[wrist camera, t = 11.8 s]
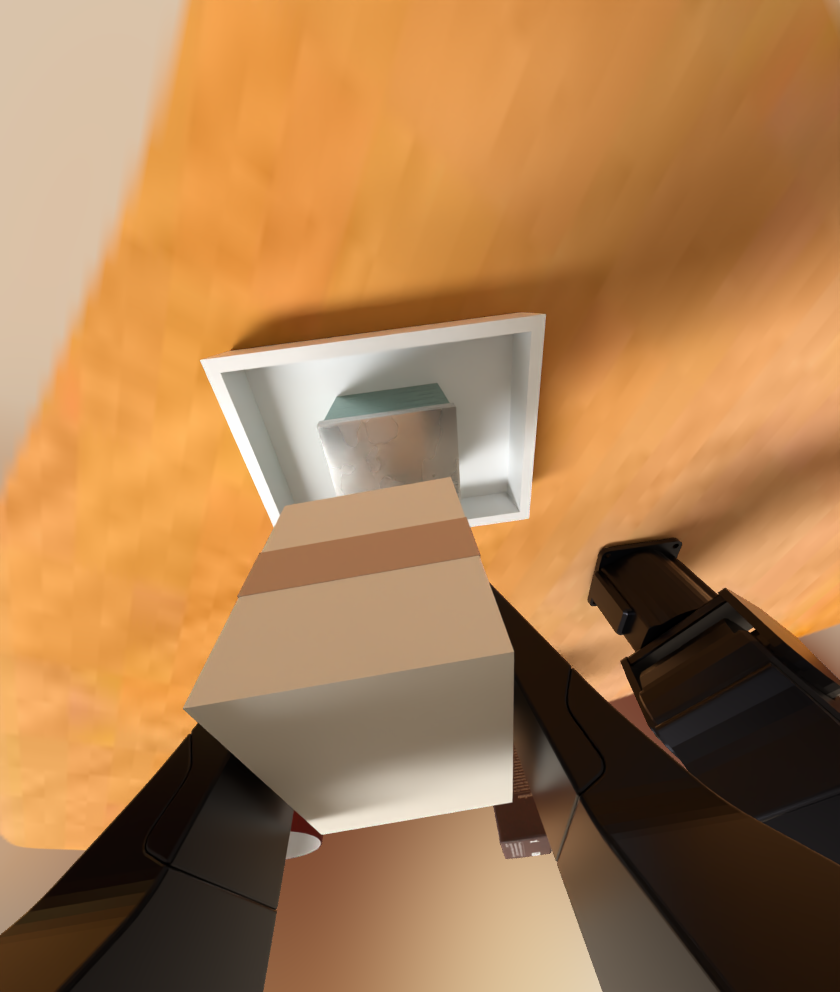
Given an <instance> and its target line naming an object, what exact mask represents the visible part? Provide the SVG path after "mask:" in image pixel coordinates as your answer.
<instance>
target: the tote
mask: <svg viewBox="0 0 840 992" xmlns="http://www.w3.org/2000/svg"><path fill="white" fill-rule="evenodd" d="M545 322H546V314H540V313H527V312H518V313H511V314H503V315H496V316H488V317H481V318H473V319H465V320H458V321H450V322H443V323H435V324H428V325H420V326H413V327H405V328H398V329H390V330H383V331H375V332H368V333H360V334H352V335H345V336H337V337H330V338H322V339H315V340H307V341H300V342H292V343H285V344H277V345H270V346H262V347H255V348H247V349H240V350H232V351H227V352H224V353H221V354H218V355H214V356H211V357H208V358H205V359H202V360H200V361H201V364H202V366H203V368H204V370H205V373H206V375H207V377H208V379H209V382H210V384H211V386H212V388H213V391H214V393H215V395H216V397H217V400H218V402H219V404H220V406H221V409H222V411H223V413H224V416H225V418H226V420H227V422H228V425H229V427H230V429H231V431H232V434H233V436H234V438H235V440H236V443H237V445H238V447H239V449H240V452H241V454H242V456H243V458H244V461H245V463H246V465H247V467H248V470H249V472H250V474H251V476H252V479H253V481H254V483H255V486H256V488H257V490H258V492H259V495H260V497H261V499H262V501H263V504H264V506H265V508H266V510H267V513H268V515H269V517H270V519H271V522H272V524H273V526H275V524H276V522H277V520H278V518H279V516H280V514H281V513H282V511H283V509H284V507H285V506H287V505H292V504H298V503H304V502H309V501H315V500H321V499H327V498H332V497H337V494H336V491H335V487H334V484H333V480H332V477H331V474H330V470H329V467H328V463H327V460H326V457H325V453H324V450H323V446H322V443H321V439H320V436H319V433H318V429H317V424H318V422H319V421H323V420H324V419H325V417H326V415H327V413H328V411H329V409H330V408H331V406H332V404H333V402H334V400H335V398H336V397H337V396H345V395H352V394H359V393H367V392H374V391H381V390H389V389H396V388H403V387H411V386H418V385H425V384H432V383H438V385H439V386H440V388H441V389H442V391H443V393H444V394H445V396H446V398H447V399H448V401H449V402H450V403H454V404H455V406H456V415H457V434H458V453H459V472H460V491H461V506H462V509H463V512H464V515H465V517H467V520H468V522H469V525H470V527H474V526H481V525H488V524H495V523H502V522H509V521H516V520H523V519H529V511H530V500H531V488H532V476H533V464H534V452H535V440H536V428H537V416H538V405H539V393H540V381H541V369H542V357H543V345H544V333H545Z"/></svg>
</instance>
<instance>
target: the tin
mask: <svg viewBox="0 0 840 992" xmlns="http://www.w3.org/2000/svg"><path fill="white" fill-rule="evenodd" d="M317 429H318V433H319V436H320V439H321V443H322V446H323V450H324V453H325V457H326V460H327V463H328V467H329V470H330V474H331V477H332V480H333V484H334V487H335V491H336V494H337V497H338V496H344V495H350V494H355V493H361V492H367V491H372V490H378V489H384V488H390V487H395V486H401V485H407V484H413V483H418V482H424V481H430V480H436V479H441V478H447V477H451V479H452V482H453V484H454V487H455V490H456V493H457V495H458V498H459V501H460V504H461V491H460V472H459V453H458V434H457V415H456V406H455V404H454V403H450V402H449V401H448V399H447V398H446V396H445V394H444V393H443V391H442V389H441V388H440V386H439V385H438V383H432V384H425V385H418V386H411V387H403V388H396V389H389V390H381V391H374V392H367V393H359V394H352V395H345V396H337V397H336V398H335V400H334V402H333V404H332V406H331V408H330V409H329V411H328V413H327V415H326V417H325V419H324V420H323V421H319V422H318V424H317Z"/></svg>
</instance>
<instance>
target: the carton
mask: <svg viewBox="0 0 840 992" xmlns="http://www.w3.org/2000/svg"><path fill="white" fill-rule="evenodd" d="M237 597H238V600H237V602H236V604H235V606H234V608H233V610H232V612H231V614H230V616H229V618H228V620H227V622H226V624H225V626H224V628H223V630H222V632H221V634H220V636H219V638H218V640H217V642H216V644H215V646H214V648H213V650H212V652H211V654H210V656H209V658H208V660H207V662H206V663H205V665H204V667H203V669H202V671H201V673H200V675H199V677H198V679H197V681H196V683H195V685H194V687H193V689H192V691H191V693H190V695H189V697H188V699H187V701H186V703H185V705H184V707H183V709H184V710H185V711H186V712H187V713H188V714H189V715H190V716H191V717H193V718H194V719H195V720H196V721H197V722H198V723H199V724H200V725H201V726H202V727H204V728H205V729H206V730H207V731H208V732H209V733H210V734H211V735H212V736H213V737H215V738H216V739H217V740H218V741H219V742H220V743H221V744H222V745H223V746H224V747H226V748H227V749H228V750H229V751H230V752H231V753H232V754H233V755H234V756H235V757H237V758H238V759H239V760H240V761H241V762H242V763H243V764H244V765H245V766H246V767H248V768H249V769H250V770H251V771H252V772H253V773H254V774H255V775H256V776H257V777H259V778H260V779H261V780H262V781H263V782H264V783H265V784H266V785H267V786H269V787H270V788H271V789H272V790H273V791H274V792H275V793H276V794H277V795H278V796H280V797H281V798H282V799H283V800H284V801H285V802H286V803H287V804H288V805H289V806H291V807H292V808H293V809H294V810H295V811H296V812H297V813H298V814H299V815H300V816H302V817H303V818H304V819H305V820H306V821H307V822H308V823H309V824H310V825H311V826H313V827H314V828H315V829H316V830H317V831H318V832H319V833H320V834H321V835H323V834H328V833H335V832H340V831H346V830H352V829H357V828H364V827H370V826H375V825H382V824H387V823H393V822H399V821H405V820H411V819H417V818H423V817H429V816H434V815H440V814H446V813H452V812H458V811H463V810H470V809H476V808H482V807H488V806H493V805H499V804H505V803H511V802H512V794H513V701H514V650H513V647H512V645H511V642H510V639H509V636H508V634H507V631H506V628H505V625H504V623H503V620H502V617H501V614H500V611H499V609H498V606H497V603H496V600H495V598H494V595H493V592H492V589H491V587H490V584H489V581H488V578H487V576H486V573H485V570H484V567H483V564H482V562H481V558H480V552H479V550H478V547H477V544H476V542H475V539H474V536H473V533H472V531H471V528H470V525H469V522H468V520H467V517H465V515H464V512H463V509H462V506H461V504H460V501H459V498H458V495H457V493H456V490H455V487H454V484H453V482H452V479H451V477H447V478H441V479H436V480H430V481H424V482H418V483H413V484H407V485H401V486H395V487H390V488H384V489H378V490H372V491H367V492H361V493H355V494H350V495H344V496H338V497H332V498H327V499H321V500H315V501H309V502H304V503H298V504H292V505H287V506H285V507H284V509H283V511H282V513H281V514H280V516H279V518H278V520H277V522H276V524H275V526H274V528H273V530H272V532H271V534H270V536H269V538H268V540H267V542H266V544H265V546H264V548H263V550H262V552H261V553H259V555H258V557H257V559H256V561H255V563H254V565H253V567H252V569H251V571H250V573H249V575H248V577H247V579H246V581H245V583H244V585H243V586H242V588H241V590H240V592H239V594H238V596H237Z"/></svg>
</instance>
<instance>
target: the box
mask: <svg viewBox="0 0 840 992" xmlns="http://www.w3.org/2000/svg"><path fill="white" fill-rule="evenodd" d="M493 807H494V812H495V818H496V823H497V828H498V834H499V840H500V845H501V847H502V850H503V853H504V856H505V858H506V859H510V858H521V857H529V856H536V855H543V854H550V853H551V851H552V849H551V846H550V843H549V840H548V838H547V835H546V832H545V829H544V826H543V824H542V821H541V818H540V815H539V812H538V810H537V807H536V804H535V801H534V798H533V796H532V793H531V790H530V787H529V784H528V782H527V779H526V776H525V773H524V770H523V768H522V765H521V762H520V759H519V756H518V754H517V751H516V748H515V745H514V743H513V794H512V802H511V803H505V804H499V805H493Z"/></svg>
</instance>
